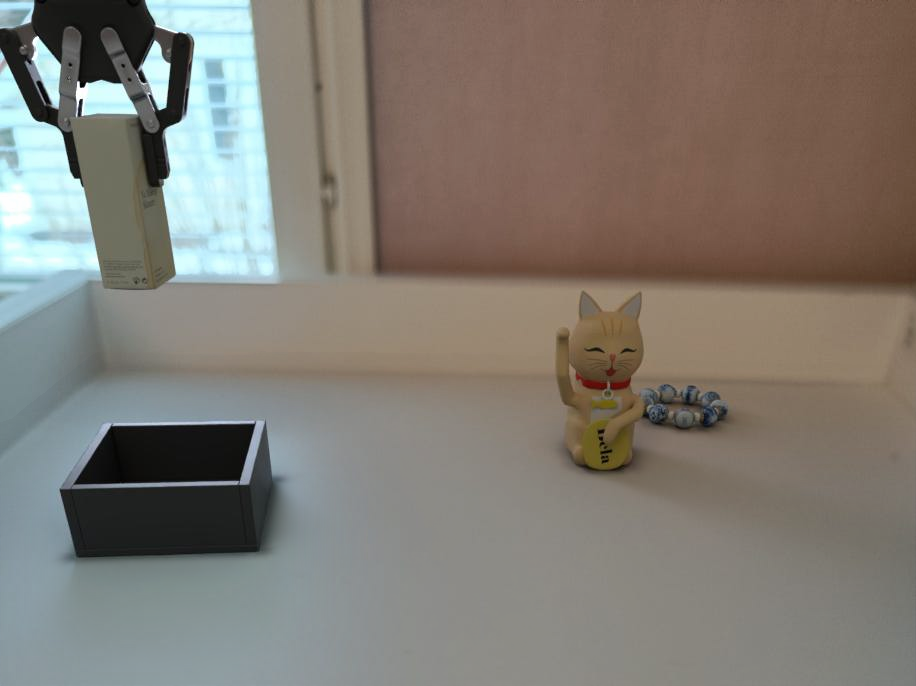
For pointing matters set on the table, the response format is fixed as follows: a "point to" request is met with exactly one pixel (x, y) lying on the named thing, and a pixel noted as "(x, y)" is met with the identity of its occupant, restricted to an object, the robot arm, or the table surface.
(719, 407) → the bracelet
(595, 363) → the figurine
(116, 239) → the cosmetic box
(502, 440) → the table surface
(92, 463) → the dark grey open box
